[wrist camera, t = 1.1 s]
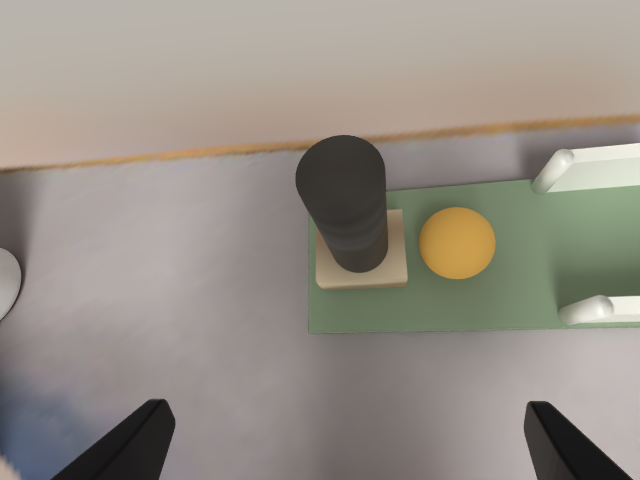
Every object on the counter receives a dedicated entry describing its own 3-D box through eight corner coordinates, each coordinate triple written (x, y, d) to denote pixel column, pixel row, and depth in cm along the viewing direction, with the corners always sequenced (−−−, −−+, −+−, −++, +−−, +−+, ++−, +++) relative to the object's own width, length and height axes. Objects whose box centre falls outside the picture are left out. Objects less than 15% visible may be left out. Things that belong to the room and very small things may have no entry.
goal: (710, 322, 19) (776, 312, 16) (560, 325, 20) (592, 317, 17) (658, 169, 22) (705, 134, 18) (529, 180, 23) (552, 149, 20)
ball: (499, 269, 22) (521, 249, 18) (435, 296, 22) (444, 282, 18) (464, 212, 23) (478, 183, 19) (405, 238, 23) (407, 213, 20)
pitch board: (706, 325, 20) (722, 323, 19) (311, 333, 23) (308, 332, 22) (656, 175, 23) (667, 167, 22) (312, 203, 26) (309, 197, 25)
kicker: (406, 286, 22) (416, 221, 12) (323, 290, 23) (269, 231, 13) (401, 224, 23) (407, 118, 13) (322, 229, 24) (273, 133, 14)
